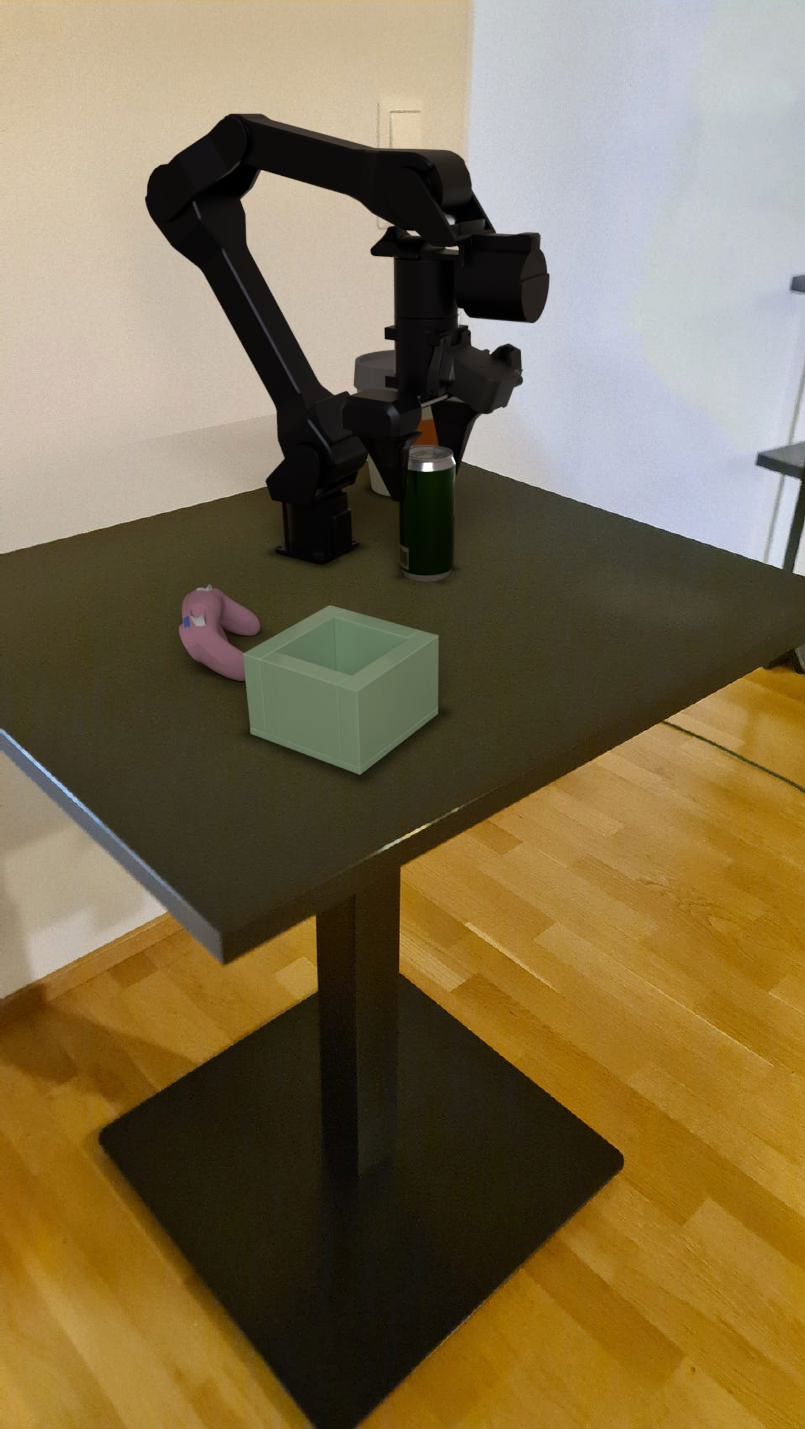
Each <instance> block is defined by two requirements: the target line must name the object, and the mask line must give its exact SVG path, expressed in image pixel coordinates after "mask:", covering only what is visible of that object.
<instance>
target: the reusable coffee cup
mask: <svg viewBox="0 0 805 1429" xmlns="http://www.w3.org/2000/svg"><path fill="white" fill-rule="evenodd" d="M353 370H354V372H353V387H354V388H355V389H356V393H358V392H361V391H364V390H367V389H370V388H375V389H381V390H388V391H395V392H398V389H394V388H388V387H385V376H386V375H389V374H392V373H395V358H394V349H386V350H378V351H372V352H367V353H363V354H361V355H359V356H357V357H356V358H355V359H354V369H353ZM418 398H420V397H418ZM416 431H422V435H421V436H420V437H419V438H418V439H417V440H416V441H415V442H414V443H413V444H412V445H411V447H412V446H418V445H436V446H439V445H438V440H437V435H436V430H435V426H434V420H433V416H432V411H431V406H428V407H425V408H423V409H422V419H421V422H420V424H419V426H418V428H417V430H416ZM367 465H368V471H369V478H370V485H371V489H372V491H374V492H375V493H377V494H379V495H383V496H386V497H391V496H390V494H389V492H388V490H387V488H386V486H385V484H384V482H383V480H382V478H381V476H380V474H379V472H378V470H377V468H376V466H375V464H374V462H373V460H372V459H371V457H370V455H369V454H368V458H367Z"/></svg>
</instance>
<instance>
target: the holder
mask: <svg viewBox="0 0 805 1429" xmlns="http://www.w3.org/2000/svg"><path fill="white" fill-rule="evenodd" d="M439 638H440V637H439V634H435V633H432V632H427V631H424V630H420V629H417V628H413V627H410V626H406V625H402V624H399V623H395V622H392V621H389V620H385V619H382V618H378V617H374V616H371V615H367V614H364V613H360V612H357V611H353V610H349V609H345V608H342V607H339V606H335V605H331V604H329V605H327V606H325V607H324V608H322V609H320V610H318V611H316V612H315V613H312V614H311V615H309V616H307V617H306V618H304V619H302V620H300V621H298V622H297V623H295V624H293V625H291V626H290V627H288V628H286V629H284V630H283V631H281V632H279V633H277V634H275V635H274V636H271V637H270V638H268V639H266V640H264V641H263V642H261V643H260V644H257V645H256V646H254V647H252V648H251V649H249V650H246V651H245V652H243V661H244V671H245V681H244V682H245V689H246V691H245V692H246V698H247V699H246V700H247V710H248V711H247V712H248V719H249V731H250V732H249V733H250V735H252V736H256V737H258V738H260V739H263V740H265V741H268V742H271V743H274V744H277V745H279V746H282V747H284V748H287V749H290V750H292V751H296V752H297V753H301V754H304V755H306V756H308V757H311V758H314V759H317V760H318V761H323V762H325V763H327V764H331V765H332V766H335V767H337V768H340V769H343V770H346V771H348V772H351V773H354V774H357V775H358V776H361V775H362V774H363V773H364V772H366V771H367V770H369V769H370V768H371V767H372V766H374V765H375V764H376V763H378V762H379V761H380V760H381V759H383V758H384V757H385V756H387V755H388V754H389V753H390V752H391V751H393V750H394V749H395V748H397V747H398V746H399V745H400V744H402V743H403V742H404V741H405V740H407V739H408V738H410V737H411V736H412V735H413V734H414V733H416V732H417V731H418V730H420V729H421V728H422V727H423V726H425V725H426V724H427V723H429V722H430V721H432V719H433V718H435V717H437V715H439V652H440V650H439V649H440V648H439V647H440V646H439V640H440V639H439Z"/></svg>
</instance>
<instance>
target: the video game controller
mask: <svg viewBox="0 0 805 1429" xmlns="http://www.w3.org/2000/svg"><path fill="white" fill-rule="evenodd" d="M181 605H182V606H181V618H182V623H181V624H180V625H179V626H178V633H179V637H180V640H181V642H182V643H183V646H184V648H185V650H186V651H187V653H188V654H189V655H190V657H191V658H192V659H193V660H194V661H196V662H197V663H200V664H203V665H204V666H206V667H207V668H209V669H210V670H212V671H214V672H215V673H217V674H218V675H221V676H223V677H225V678H227V679H230V680H235V681H236V682H237V681H238V682H246V681H245V671H244V661H243V653H244V651H242V650H240V649H239V648H238V647H236V646H234V645H233V644H231V643H230V642H229V640H228V637H227V635H226V633H225V631H227V632H230V633H232V634H235V635H239V636H244V637H245V636H246V637H253V636H256V635H257V634H258V633H259V632H260V629H261V624H260V620H259V618H258V617H257V615H256V614H255V613H253V612H252V611H251V610H250V609H248V608H247V607H245V606H243V605H241V604H239V603H238V602H236V601H234V600H233V599H231V598H230V597H229V596H227V595H226V594H225V593H224V592H223V591H221V590H220V589H218V588H216V587H213V586H212V585H211V583H209V584H208V585H207V586H206V588H204V587H201V586H200V587H197V588H196V589H194V590H192V591H190V592H189V593H187V594H186V595H185V596H184V598H183V601H182V604H181ZM224 630H225V631H224Z"/></svg>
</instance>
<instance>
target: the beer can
mask: <svg viewBox="0 0 805 1429" xmlns="http://www.w3.org/2000/svg"><path fill="white" fill-rule="evenodd" d="M452 456H453V451H452V450H451V449H449V448H446V447H443V446H436V445H418V446H412V447H410V450H409V463H408V475H407V487H406V494H405V500H404V501H403V502H401V503H400V502H398V550H399V551H398V555H399V557H398V558H399V563H398V564H399V568H400V570H401V573H402V575H403V576H404V577H405V578H407V579H409V580H411V581H416V582H424V583H425V582H426V583H428V582H429V583H430V582H437V581H442V580H444V579H447V578H448V577H450V575H451V573H452V571H453V569H454V566H455V523H456V522H455V520H456V476H455V466H456V463H455V461H454V459H453V457H452Z"/></svg>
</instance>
